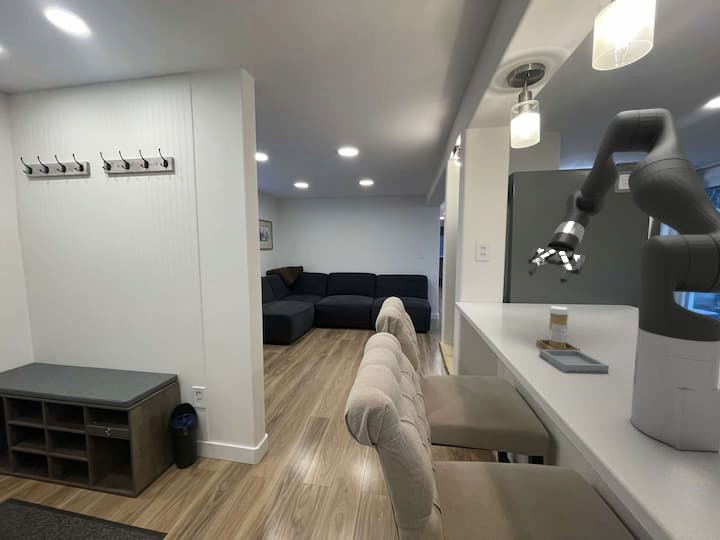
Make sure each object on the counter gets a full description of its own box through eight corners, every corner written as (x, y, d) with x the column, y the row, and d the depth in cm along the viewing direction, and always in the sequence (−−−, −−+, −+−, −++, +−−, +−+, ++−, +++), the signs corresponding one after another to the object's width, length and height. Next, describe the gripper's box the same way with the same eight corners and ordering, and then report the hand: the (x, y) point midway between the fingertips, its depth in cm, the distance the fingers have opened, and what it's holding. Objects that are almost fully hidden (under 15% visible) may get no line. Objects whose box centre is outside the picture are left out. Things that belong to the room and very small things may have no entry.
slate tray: (608, 373, 70) (608, 365, 70) (564, 372, 71) (564, 364, 70) (577, 356, 81) (578, 350, 80) (539, 356, 81) (539, 349, 81)
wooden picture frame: (579, 355, 81) (579, 349, 81) (551, 355, 82) (552, 348, 82) (561, 346, 89) (561, 340, 89) (536, 346, 90) (536, 339, 89)
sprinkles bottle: (550, 347, 89) (553, 304, 88) (568, 351, 85) (570, 307, 84) (545, 350, 86) (547, 306, 85) (563, 354, 82) (566, 309, 81)
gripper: (540, 228, 94) (519, 265, 90) (593, 234, 84) (573, 276, 80) (542, 242, 99) (522, 278, 95) (593, 250, 89) (573, 291, 85)
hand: (545, 277), depth 88 cm, fingers open, 8 cm apart
